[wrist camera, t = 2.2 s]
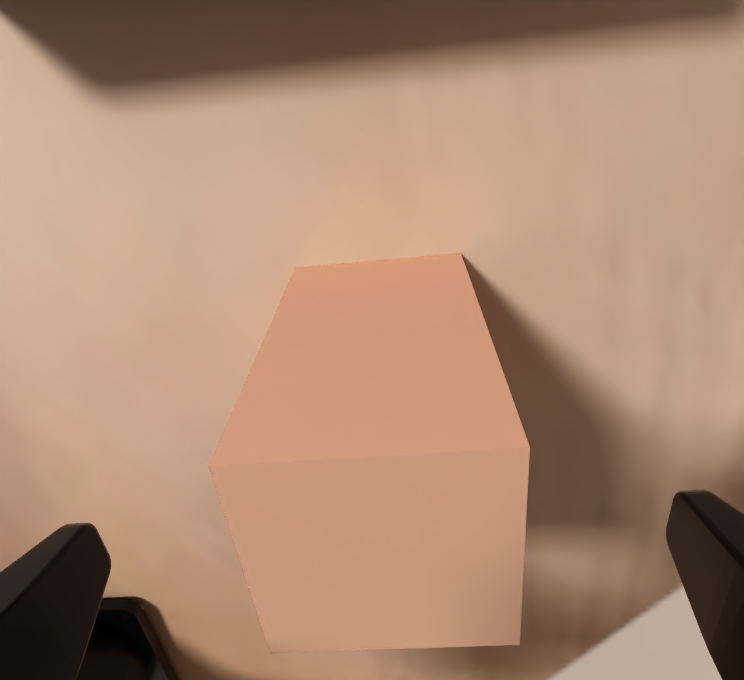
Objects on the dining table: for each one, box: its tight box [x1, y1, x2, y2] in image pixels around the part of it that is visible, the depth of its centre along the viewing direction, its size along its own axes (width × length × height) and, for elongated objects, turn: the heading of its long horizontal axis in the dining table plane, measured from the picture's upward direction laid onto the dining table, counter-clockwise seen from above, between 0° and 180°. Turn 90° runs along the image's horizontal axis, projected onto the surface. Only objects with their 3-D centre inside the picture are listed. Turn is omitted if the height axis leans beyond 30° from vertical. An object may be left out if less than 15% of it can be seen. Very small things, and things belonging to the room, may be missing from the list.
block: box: [209, 253, 530, 653], centre depth 11 cm, size 4×4×7 cm
